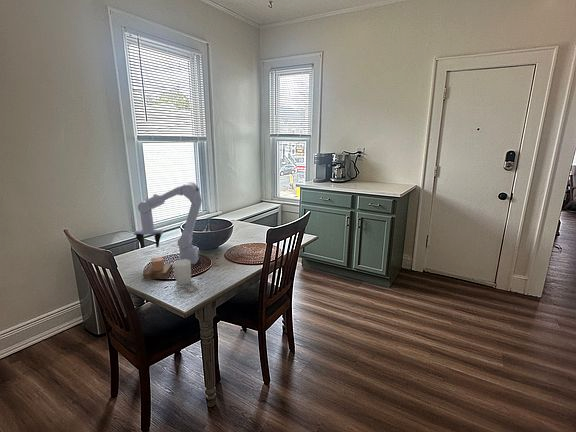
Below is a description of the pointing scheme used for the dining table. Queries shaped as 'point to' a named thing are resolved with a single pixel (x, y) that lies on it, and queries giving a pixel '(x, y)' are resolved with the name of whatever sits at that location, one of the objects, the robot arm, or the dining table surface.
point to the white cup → (182, 271)
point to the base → (158, 272)
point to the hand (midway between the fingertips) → (150, 247)
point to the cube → (157, 264)
